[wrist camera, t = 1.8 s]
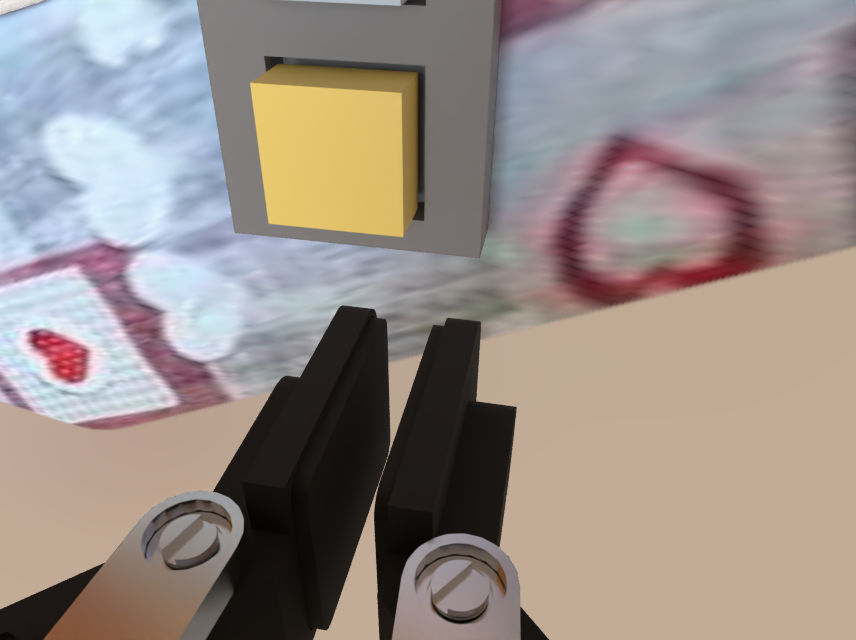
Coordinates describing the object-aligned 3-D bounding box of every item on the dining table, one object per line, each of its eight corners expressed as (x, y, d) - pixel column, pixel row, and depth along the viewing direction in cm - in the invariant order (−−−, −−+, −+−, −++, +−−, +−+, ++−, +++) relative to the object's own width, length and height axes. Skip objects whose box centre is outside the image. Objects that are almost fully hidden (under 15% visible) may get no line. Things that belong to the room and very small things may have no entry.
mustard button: (418, 72, 28) (401, 92, 26) (417, 207, 32) (403, 237, 29) (278, 63, 29) (249, 82, 27) (292, 195, 33) (268, 223, 30)
